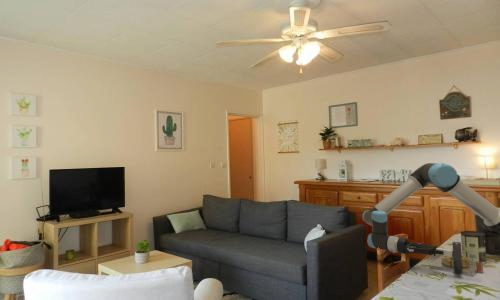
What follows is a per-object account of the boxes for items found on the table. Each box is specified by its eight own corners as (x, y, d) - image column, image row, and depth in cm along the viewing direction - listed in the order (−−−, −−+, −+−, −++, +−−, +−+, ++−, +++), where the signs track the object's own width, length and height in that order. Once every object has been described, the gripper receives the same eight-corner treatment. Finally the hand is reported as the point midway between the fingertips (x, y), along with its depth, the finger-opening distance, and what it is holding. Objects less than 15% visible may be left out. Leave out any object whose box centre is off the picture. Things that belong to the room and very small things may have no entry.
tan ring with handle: (441, 258, 169) (439, 232, 169) (468, 261, 164) (467, 234, 164) (443, 272, 150) (441, 242, 150) (474, 275, 145) (472, 244, 145)
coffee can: (480, 258, 173) (479, 230, 174) (490, 264, 163) (488, 235, 164) (458, 257, 175) (457, 230, 176) (467, 263, 165) (465, 235, 166)
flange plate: (440, 259, 174) (440, 248, 174) (487, 267, 159) (487, 255, 160) (429, 268, 161) (428, 256, 161) (478, 277, 147) (477, 264, 147)
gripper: (404, 249, 172) (457, 258, 154) (393, 255, 163) (448, 265, 145) (404, 235, 172) (456, 242, 155) (393, 239, 163) (447, 248, 146)
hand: (452, 253), depth 150 cm, fingers closed
